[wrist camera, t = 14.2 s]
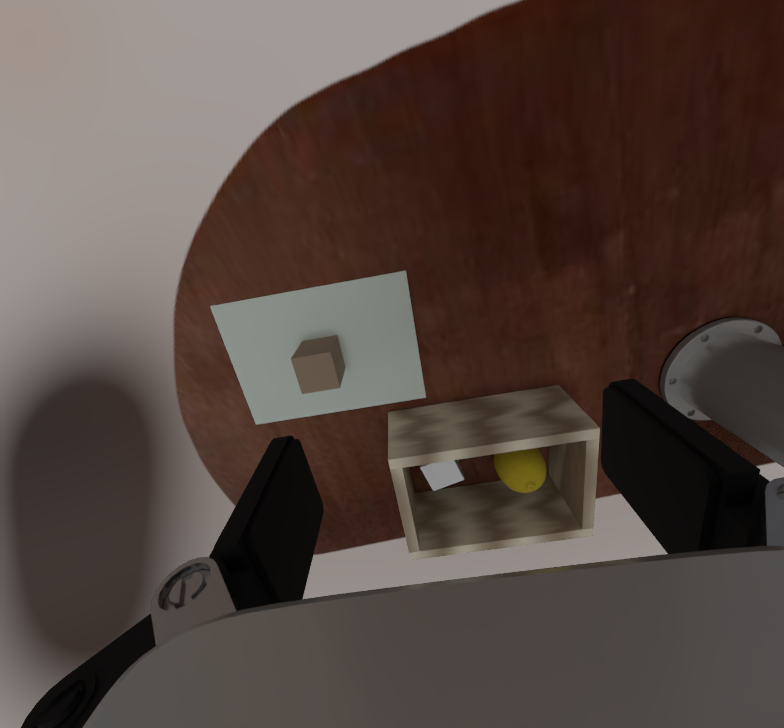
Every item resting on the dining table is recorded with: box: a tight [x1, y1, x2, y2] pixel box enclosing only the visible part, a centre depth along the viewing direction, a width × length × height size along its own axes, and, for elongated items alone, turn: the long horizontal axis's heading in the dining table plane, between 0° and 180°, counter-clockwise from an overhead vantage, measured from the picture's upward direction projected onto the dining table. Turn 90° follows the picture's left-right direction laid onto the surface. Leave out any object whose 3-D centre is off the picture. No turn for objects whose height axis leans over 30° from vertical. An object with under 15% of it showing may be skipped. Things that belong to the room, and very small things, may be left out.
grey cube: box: [420, 459, 464, 491], centre depth 44 cm, size 4×4×4 cm
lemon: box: [494, 448, 547, 493], centre depth 42 cm, size 6×6×8 cm
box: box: [388, 385, 600, 560], centre depth 42 cm, size 20×14×9 cm
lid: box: [210, 271, 426, 425], centre depth 38 cm, size 21×15×6 cm
